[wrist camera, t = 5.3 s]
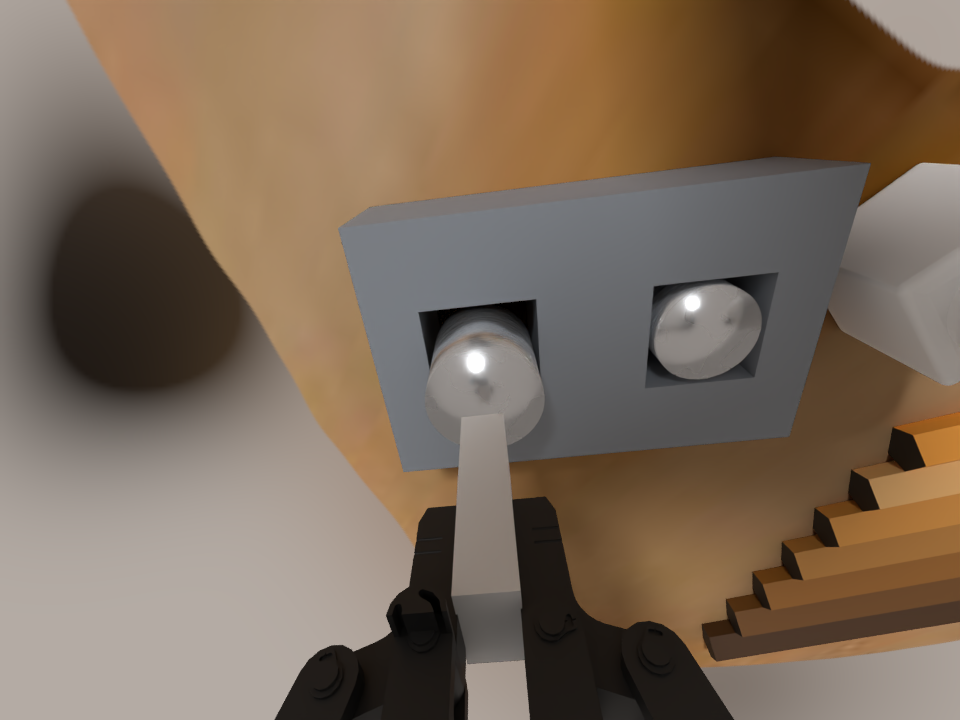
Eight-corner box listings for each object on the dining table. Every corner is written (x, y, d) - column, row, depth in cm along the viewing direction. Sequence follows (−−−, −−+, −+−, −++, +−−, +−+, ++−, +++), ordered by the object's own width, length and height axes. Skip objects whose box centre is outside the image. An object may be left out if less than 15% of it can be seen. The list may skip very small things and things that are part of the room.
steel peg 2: (626, 263, 24) (660, 292, 19) (716, 252, 23) (772, 279, 19) (622, 341, 26) (651, 383, 22) (704, 333, 26) (750, 374, 21)
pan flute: (701, 634, 44) (963, 589, 41) (717, 670, 41) (1001, 625, 38) (681, 464, 33) (1040, 382, 30) (701, 497, 30) (1104, 409, 27)
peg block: (369, 207, 23) (338, 228, 18) (776, 156, 22) (870, 163, 17) (416, 412, 30) (403, 471, 24) (731, 381, 29) (789, 436, 23)
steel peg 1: (427, 309, 21) (414, 356, 16) (528, 298, 20) (542, 342, 16) (443, 393, 23) (435, 454, 19) (533, 384, 23) (547, 443, 18)
